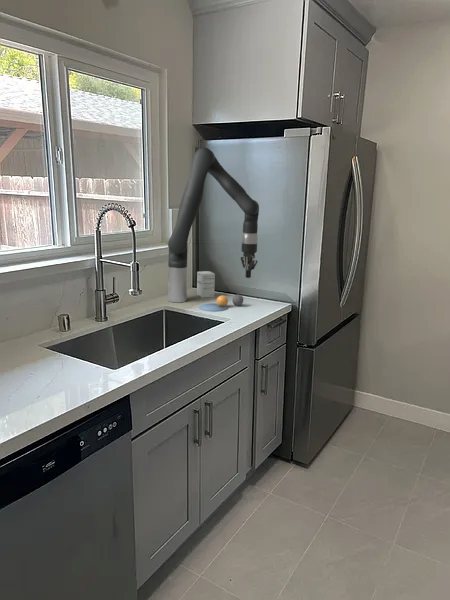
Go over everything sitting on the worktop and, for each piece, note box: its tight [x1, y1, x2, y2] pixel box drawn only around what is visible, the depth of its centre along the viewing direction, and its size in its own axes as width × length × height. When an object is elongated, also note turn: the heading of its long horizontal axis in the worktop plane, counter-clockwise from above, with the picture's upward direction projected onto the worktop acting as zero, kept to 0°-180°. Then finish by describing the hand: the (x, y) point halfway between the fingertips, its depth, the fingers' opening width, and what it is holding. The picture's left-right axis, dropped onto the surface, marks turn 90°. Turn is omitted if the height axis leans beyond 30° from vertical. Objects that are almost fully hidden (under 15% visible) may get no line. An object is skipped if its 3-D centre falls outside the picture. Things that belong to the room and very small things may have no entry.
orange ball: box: [216, 295, 229, 307], centre depth 223 cm, size 6×6×6 cm
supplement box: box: [196, 270, 216, 299], centre depth 242 cm, size 7×7×13 cm
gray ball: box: [231, 294, 244, 307], centre depth 225 cm, size 6×6×6 cm
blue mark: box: [198, 303, 229, 312], centre depth 221 cm, size 14×14×1 cm
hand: (248, 277), depth 226 cm, fingers closed
